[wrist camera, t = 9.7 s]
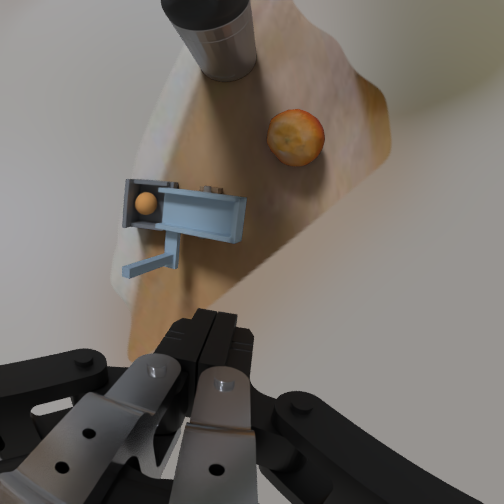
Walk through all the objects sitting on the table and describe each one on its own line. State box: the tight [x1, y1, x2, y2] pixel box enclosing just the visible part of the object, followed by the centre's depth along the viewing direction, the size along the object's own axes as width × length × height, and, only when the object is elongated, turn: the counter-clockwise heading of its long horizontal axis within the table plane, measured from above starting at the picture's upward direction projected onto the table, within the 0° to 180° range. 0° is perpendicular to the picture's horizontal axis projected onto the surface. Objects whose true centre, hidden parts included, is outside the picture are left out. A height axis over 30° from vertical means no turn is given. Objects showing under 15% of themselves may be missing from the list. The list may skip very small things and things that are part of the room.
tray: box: [122, 179, 178, 231], centre depth 43 cm, size 7×7×5 cm
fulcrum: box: [199, 186, 223, 239], centre depth 42 cm, size 7×3×6 cm, turn 172°
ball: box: [135, 192, 157, 215], centre depth 43 cm, size 4×4×4 cm
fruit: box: [267, 109, 325, 166], centre depth 39 cm, size 8×8×8 cm
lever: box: [122, 188, 247, 279], centre depth 35 cm, size 11×12×10 cm
